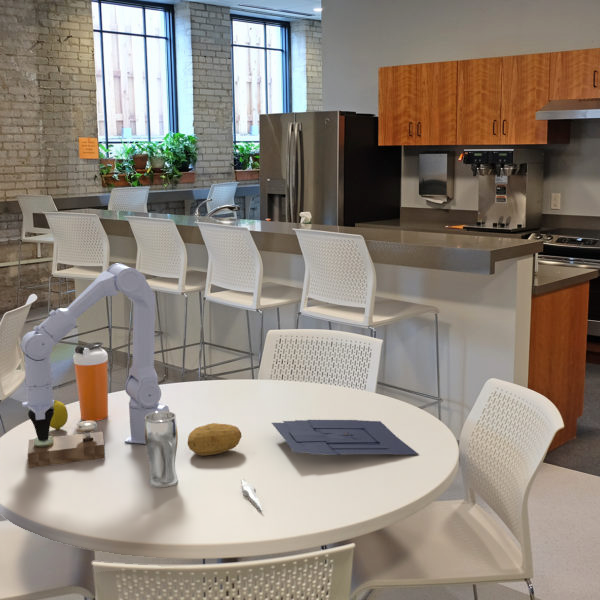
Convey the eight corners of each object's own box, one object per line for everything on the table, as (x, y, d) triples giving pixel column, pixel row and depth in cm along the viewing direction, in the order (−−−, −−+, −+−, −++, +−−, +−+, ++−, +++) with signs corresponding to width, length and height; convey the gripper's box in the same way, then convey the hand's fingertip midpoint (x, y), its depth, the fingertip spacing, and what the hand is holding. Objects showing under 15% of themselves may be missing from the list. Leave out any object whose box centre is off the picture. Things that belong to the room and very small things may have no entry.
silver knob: (97, 437, 195) (96, 419, 194) (98, 443, 191) (96, 425, 190) (78, 439, 194) (77, 421, 193) (78, 446, 190) (77, 427, 189)
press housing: (103, 445, 198) (102, 431, 198) (105, 458, 190) (104, 444, 189) (30, 453, 194) (28, 439, 193) (28, 467, 185) (27, 453, 185)
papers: (268, 430, 203) (269, 416, 203) (378, 430, 212) (380, 417, 212) (295, 467, 180) (296, 451, 180) (417, 465, 189) (419, 450, 189)
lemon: (55, 435, 206) (52, 405, 204) (42, 430, 209) (39, 401, 207) (73, 429, 210) (71, 399, 208) (60, 424, 213) (57, 395, 212)
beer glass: (165, 491, 172) (161, 423, 169) (140, 484, 175) (136, 418, 172) (186, 479, 178) (183, 414, 175) (162, 472, 181) (158, 408, 178)
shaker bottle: (118, 414, 220) (114, 343, 216) (94, 424, 213) (89, 350, 209) (95, 409, 225) (90, 339, 221) (70, 418, 218) (65, 346, 214)
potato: (189, 446, 197) (188, 419, 195) (242, 444, 197) (241, 417, 196) (186, 461, 188) (185, 432, 186) (241, 459, 188) (240, 431, 187)
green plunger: (54, 452, 193) (53, 434, 192) (54, 459, 189) (53, 441, 188) (35, 454, 192) (34, 436, 191) (35, 461, 188) (33, 443, 187)
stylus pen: (236, 486, 174) (236, 478, 174) (248, 484, 175) (248, 476, 175) (255, 516, 160) (255, 507, 160) (268, 514, 161) (268, 505, 161)
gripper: (22, 376, 193) (26, 430, 195) (19, 394, 179) (24, 452, 182) (53, 373, 194) (57, 427, 197) (52, 391, 181) (56, 448, 183)
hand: (43, 439), depth 189 cm, fingers closed, pressing on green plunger
